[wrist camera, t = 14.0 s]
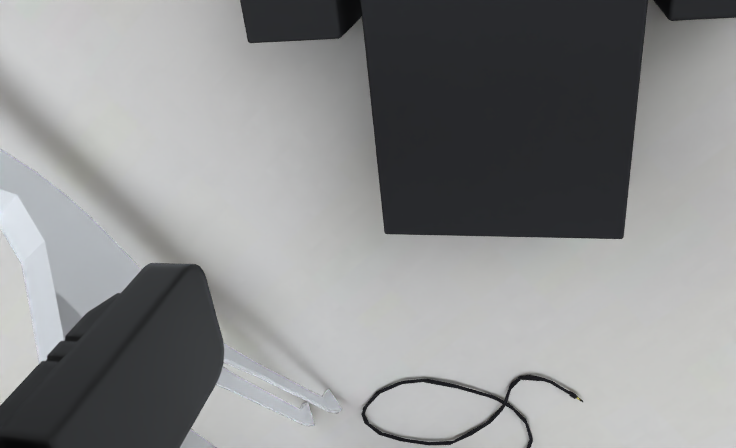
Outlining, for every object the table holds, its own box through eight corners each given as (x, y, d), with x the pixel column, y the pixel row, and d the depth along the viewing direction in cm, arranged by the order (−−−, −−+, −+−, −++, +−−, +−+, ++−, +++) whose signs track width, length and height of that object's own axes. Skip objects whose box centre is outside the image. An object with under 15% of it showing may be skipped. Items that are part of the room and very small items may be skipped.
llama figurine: (338, 265, 29) (-90, 6, 19) (347, 526, 22) (-357, 319, 12) (310, 283, 30) (-113, 45, 20) (310, 540, 23) (-375, 360, 13)
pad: (403, 185, 20) (384, 234, 17) (370, -203, 15) (337, -214, 12) (610, 185, 18) (623, 240, 16) (648, -244, 14) (675, -264, 11)
